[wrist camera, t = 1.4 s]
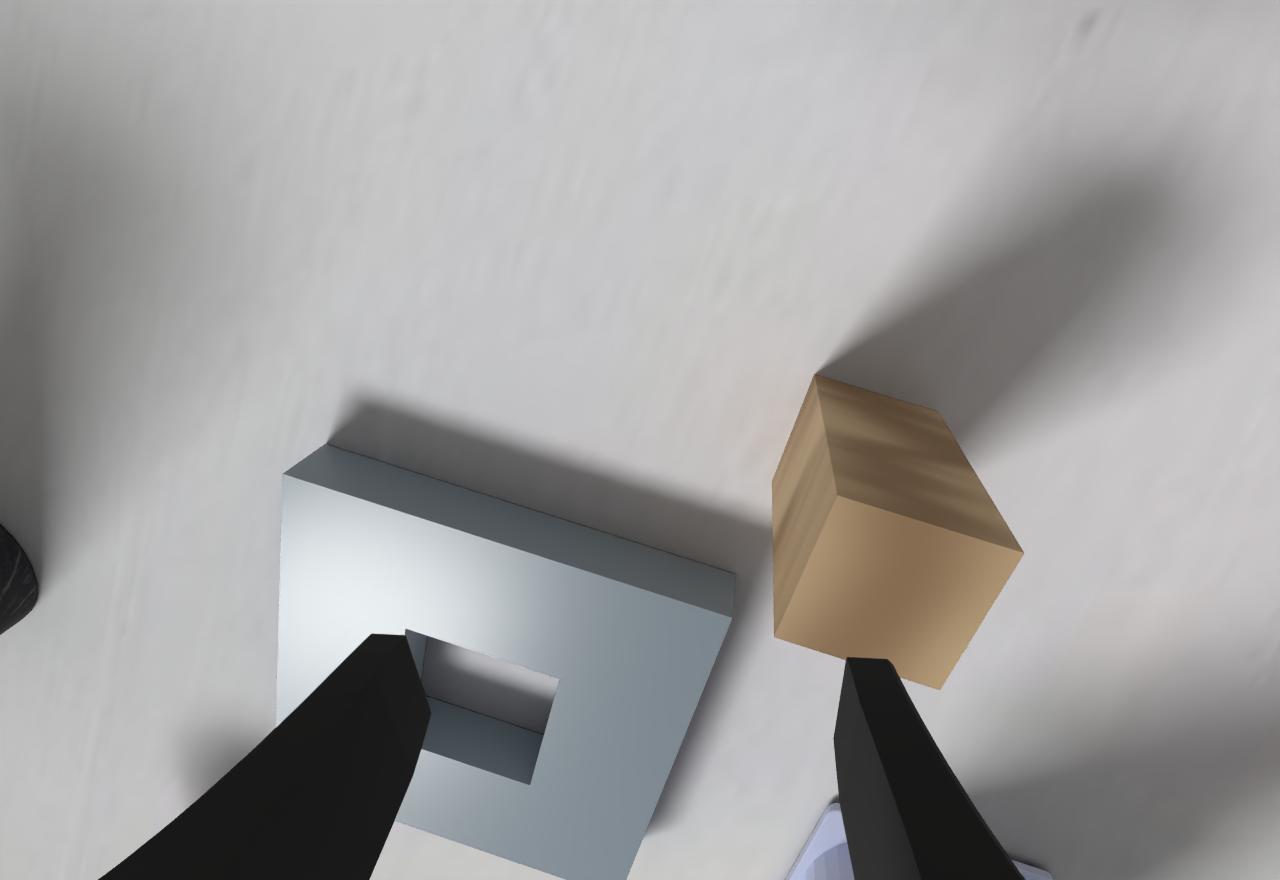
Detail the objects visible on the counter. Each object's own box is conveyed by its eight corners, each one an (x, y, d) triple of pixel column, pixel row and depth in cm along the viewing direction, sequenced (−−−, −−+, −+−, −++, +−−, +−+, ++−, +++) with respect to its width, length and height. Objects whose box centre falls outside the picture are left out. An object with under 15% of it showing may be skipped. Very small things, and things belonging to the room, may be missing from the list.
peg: (938, 411, 21) (1024, 553, 14) (886, 516, 23) (939, 690, 16) (814, 374, 22) (837, 495, 14) (772, 481, 23) (774, 636, 16)
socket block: (735, 574, 25) (732, 617, 23) (629, 843, 32) (618, 897, 30) (325, 444, 26) (282, 473, 24) (308, 735, 33) (274, 779, 30)
